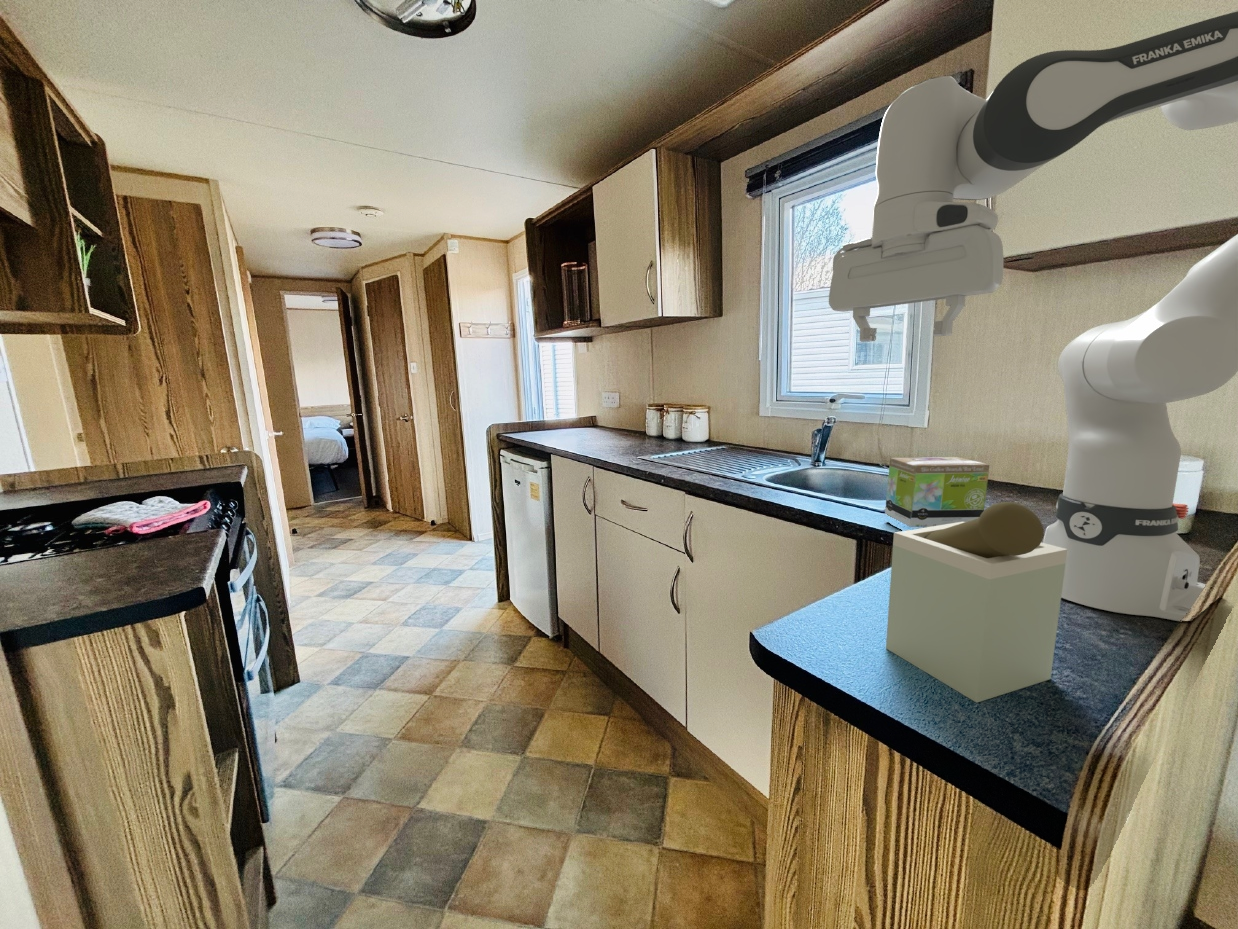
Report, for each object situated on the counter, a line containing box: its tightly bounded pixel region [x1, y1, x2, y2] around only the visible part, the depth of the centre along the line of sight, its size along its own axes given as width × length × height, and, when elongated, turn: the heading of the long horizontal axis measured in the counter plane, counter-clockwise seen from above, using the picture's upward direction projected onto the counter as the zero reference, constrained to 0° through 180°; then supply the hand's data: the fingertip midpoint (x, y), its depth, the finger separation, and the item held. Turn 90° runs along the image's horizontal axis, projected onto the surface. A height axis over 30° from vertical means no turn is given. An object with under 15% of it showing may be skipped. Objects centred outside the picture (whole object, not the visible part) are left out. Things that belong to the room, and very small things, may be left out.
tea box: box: [884, 456, 990, 528], centre depth 105 cm, size 15×10×15 cm
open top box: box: [885, 522, 1068, 704], centre depth 56 cm, size 11×11×14 cm
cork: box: [924, 501, 1045, 558], centre depth 52 cm, size 6×6×11 cm
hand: (902, 338), depth 67 cm, fingers open, 8 cm apart
